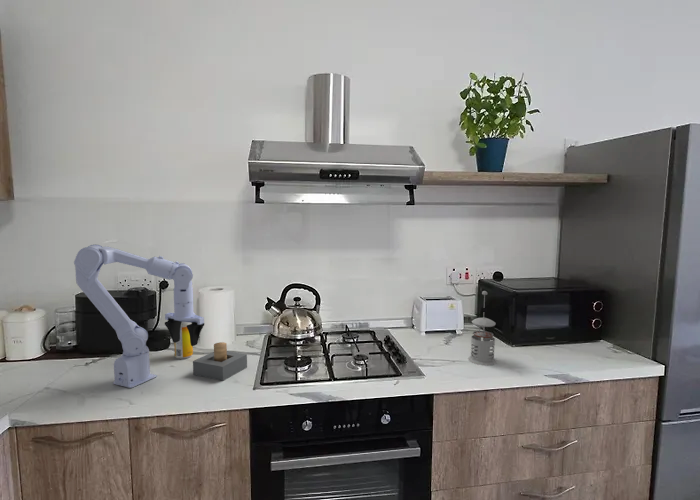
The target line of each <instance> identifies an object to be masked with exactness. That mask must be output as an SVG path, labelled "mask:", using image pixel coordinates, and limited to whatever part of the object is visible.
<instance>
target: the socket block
mask: <svg viewBox="0 0 700 500" xmlns="http://www.w3.org/2000/svg"><path fill="white" fill-rule="evenodd" d="M247 368H248V354H247V353H246V354H245V353H242V352H236V351H230V350H227V360H225V361H223V362H218V361H214V351H212V352H210V353H208V354H205V355H203V356H201V357H198V358H197V359H194V360H192V374H193V375H194V376H198V377H203V378H207V379H212V380H217V381H222V382H223V381H226V380H227V379H229V378H230V377H233V376H234V375H236V374H237V373H241V371H244V370H245V369H247Z"/></svg>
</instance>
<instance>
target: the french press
mask: <svg viewBox="0 0 700 500" xmlns="http://www.w3.org/2000/svg"><path fill="white" fill-rule="evenodd" d="M481 295H483V307H486V306H485V302H486V296H487V295H488V292H487V291H486V290H483V291H481ZM482 314H483V317H477V318H474V319H473V320H471V323H472V324H473V325H474V326H477V327H478V330H475V331H474V330H473V332H472V335H471V339H470V341H471V343H470V344H471V345H470V346H471V347H470V356H469V357H468V358H467V360H468V361H469V362H470V363H472V364H475V365H478V366H479V365H480V366H493V365H496V364H497V360H496V359H495V345H496V344H495V343H496V341H495V339H496V338H495V337H494V336H495V334H494V333H493V332H490V331H486V330H485V328H491V327H495V326H496V322H495V321H494V320H492V319H490V318H487V317H485V313H482ZM481 328H482V330H481Z"/></svg>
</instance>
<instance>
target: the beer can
mask: <svg viewBox="0 0 700 500" xmlns="http://www.w3.org/2000/svg"><path fill="white" fill-rule="evenodd" d="M190 324H192V323H190V322H183V321H182V323H181V327H180V341H178V342H176V343H173V344H174V357H175V358H176V359H177V360H187V359H190V358H191V357H192V356H193V354H194V347H193V346H191V343H190V335H189V331H188V328H187V325H190Z"/></svg>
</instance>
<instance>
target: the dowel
mask: <svg viewBox="0 0 700 500" xmlns="http://www.w3.org/2000/svg"><path fill="white" fill-rule="evenodd" d="M227 345H228V344H227V342H223V341H222V342H216V343H213V352H214V361H218V362H223V361H225V360H227V351H228V350H227V349H228V346H227Z"/></svg>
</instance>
